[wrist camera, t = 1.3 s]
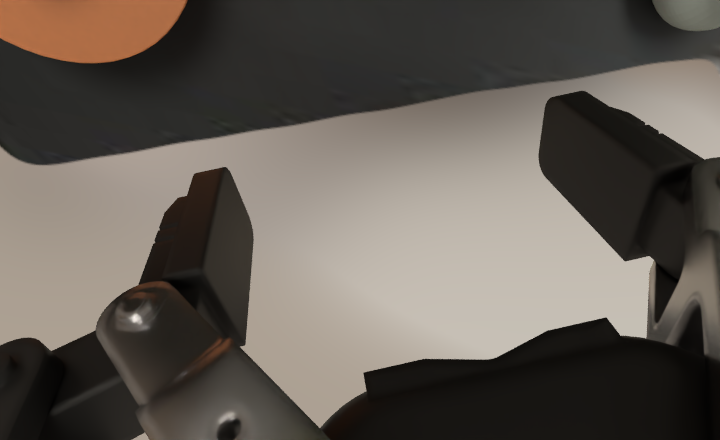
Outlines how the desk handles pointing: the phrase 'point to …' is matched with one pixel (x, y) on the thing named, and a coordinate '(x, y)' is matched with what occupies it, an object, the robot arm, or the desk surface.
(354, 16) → the desk surface
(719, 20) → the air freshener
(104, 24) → the orange pot lid
